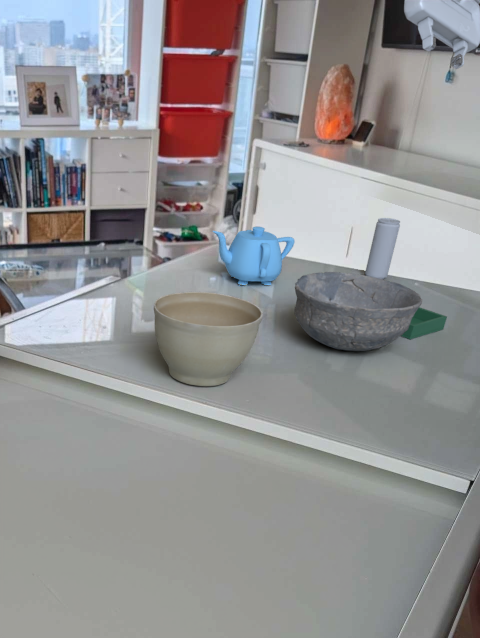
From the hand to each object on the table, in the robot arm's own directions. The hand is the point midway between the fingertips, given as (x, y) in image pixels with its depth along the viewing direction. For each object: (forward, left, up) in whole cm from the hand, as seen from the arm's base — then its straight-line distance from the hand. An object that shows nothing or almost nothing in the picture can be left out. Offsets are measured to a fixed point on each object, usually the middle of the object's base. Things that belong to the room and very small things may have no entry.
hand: (443, 57), depth 142 cm
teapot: (+27, -16, -42) cm, 53 cm away
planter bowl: (+70, +17, -42) cm, 83 cm away
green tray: (+21, +19, -42) cm, 51 cm away
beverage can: (-1, -4, -42) cm, 42 cm away
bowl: (+39, +20, -42) cm, 61 cm away
